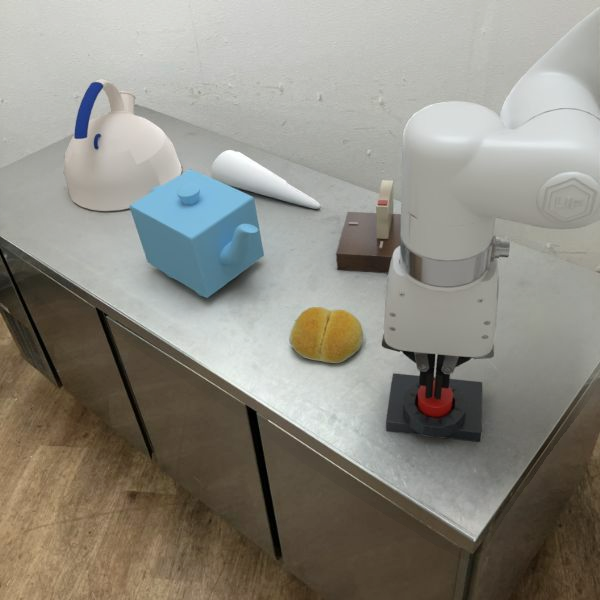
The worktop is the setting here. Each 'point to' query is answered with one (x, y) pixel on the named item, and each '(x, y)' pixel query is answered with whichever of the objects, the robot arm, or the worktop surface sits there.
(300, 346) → the bread roll
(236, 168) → the long cone
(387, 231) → the handle
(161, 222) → the teapot
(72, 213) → the worktop surface
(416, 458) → the worktop surface
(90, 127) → the kettle
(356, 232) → the panel
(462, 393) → the button block
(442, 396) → the button
